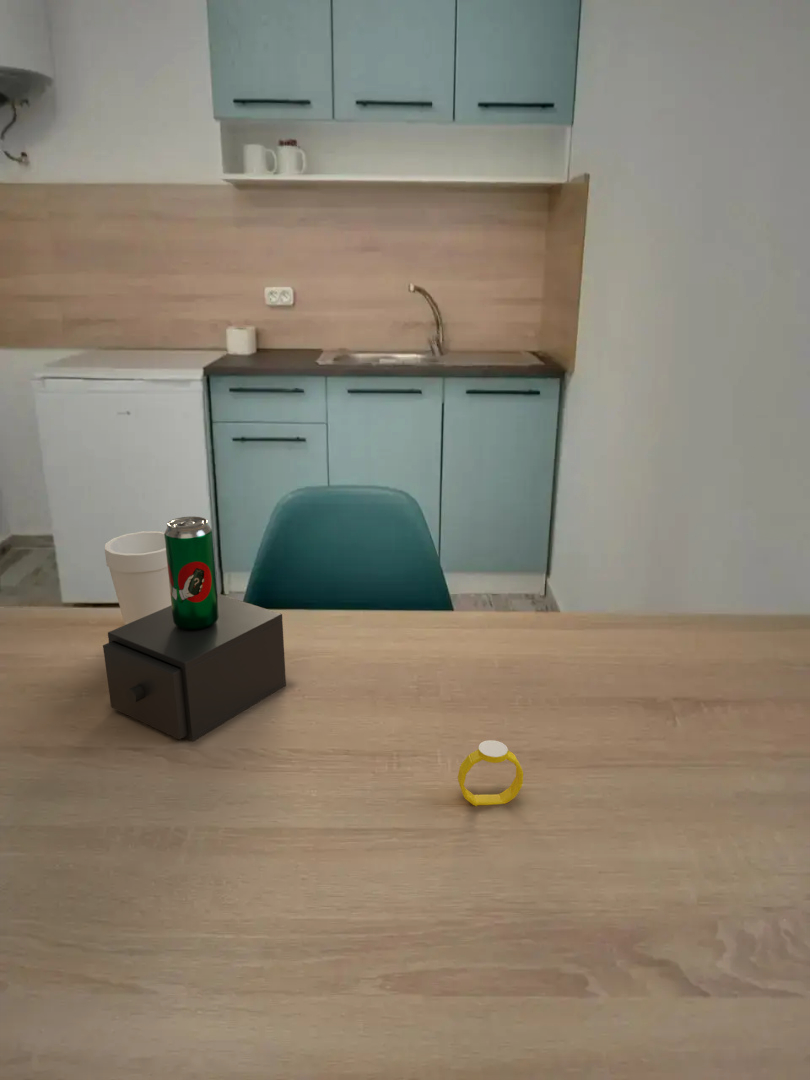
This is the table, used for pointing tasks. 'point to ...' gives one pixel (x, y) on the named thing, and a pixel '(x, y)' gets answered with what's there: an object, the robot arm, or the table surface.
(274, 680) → the cabinet
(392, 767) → the table surface
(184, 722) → the drawer
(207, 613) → the soda can
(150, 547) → the foam cup
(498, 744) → the watch
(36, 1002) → the table surface
